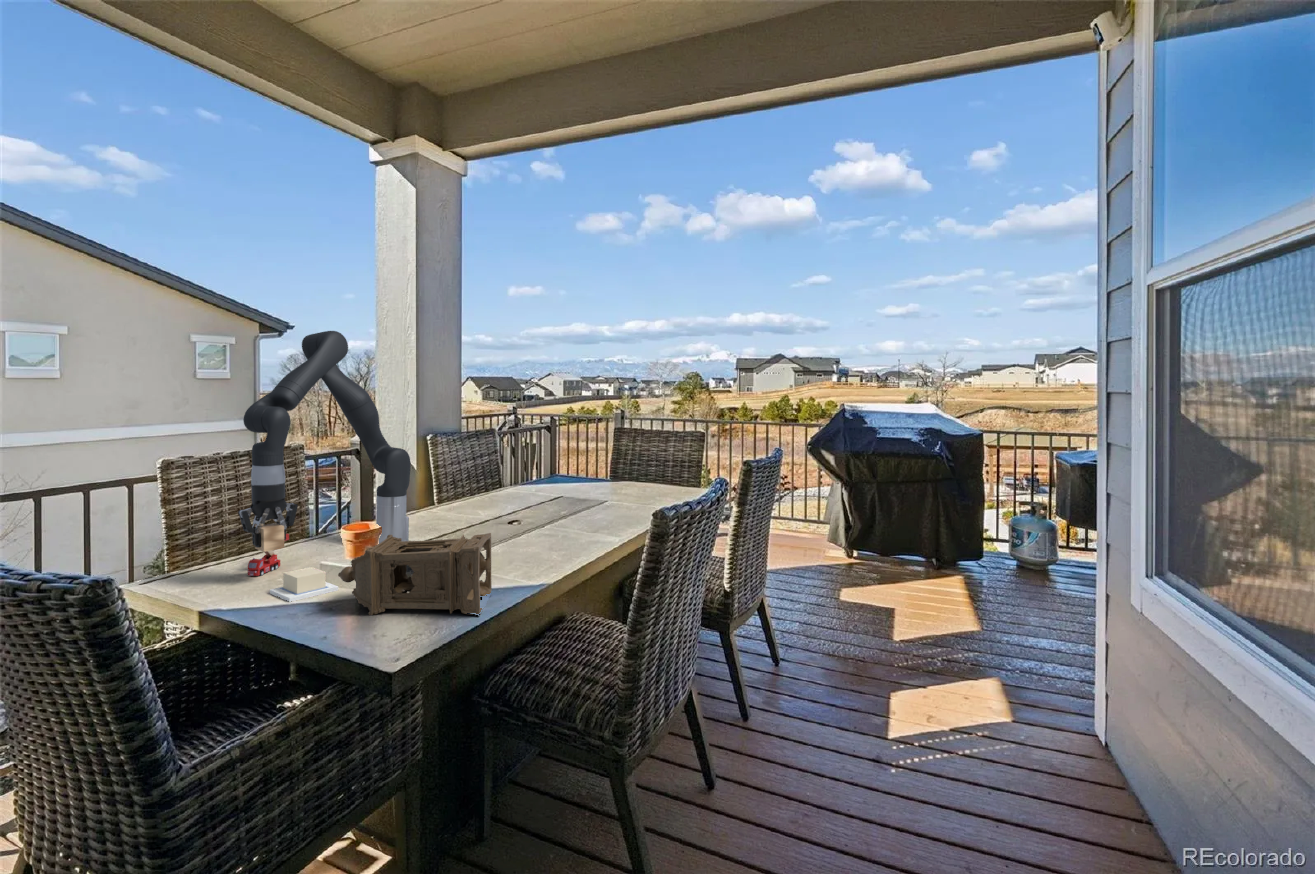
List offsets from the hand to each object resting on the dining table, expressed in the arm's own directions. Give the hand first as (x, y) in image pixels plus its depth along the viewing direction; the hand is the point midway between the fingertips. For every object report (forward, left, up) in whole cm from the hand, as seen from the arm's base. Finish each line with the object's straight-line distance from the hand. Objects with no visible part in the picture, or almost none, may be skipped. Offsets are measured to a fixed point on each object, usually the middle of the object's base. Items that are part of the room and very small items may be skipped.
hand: (269, 544), depth 161 cm
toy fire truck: (-5, -11, -10) cm, 16 cm away
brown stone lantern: (-13, +44, -10) cm, 47 cm away
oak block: (0, 0, -1) cm, 1 cm away
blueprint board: (-2, +15, -10) cm, 18 cm away
